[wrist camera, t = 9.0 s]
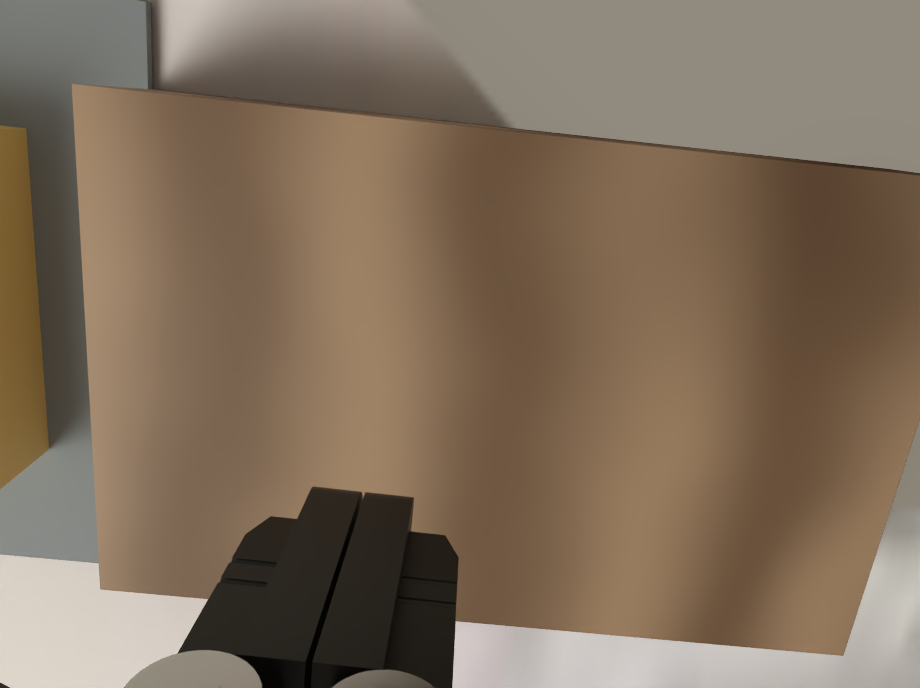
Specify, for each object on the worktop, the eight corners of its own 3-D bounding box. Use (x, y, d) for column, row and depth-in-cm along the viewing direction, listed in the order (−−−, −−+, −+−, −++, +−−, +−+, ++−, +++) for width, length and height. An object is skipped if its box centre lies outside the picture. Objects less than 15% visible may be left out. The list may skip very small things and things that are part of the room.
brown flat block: (888, 168, 19) (995, 183, 15) (779, 563, 23) (843, 655, 19) (152, 89, 18) (71, 83, 15) (162, 506, 22) (100, 589, 18)
